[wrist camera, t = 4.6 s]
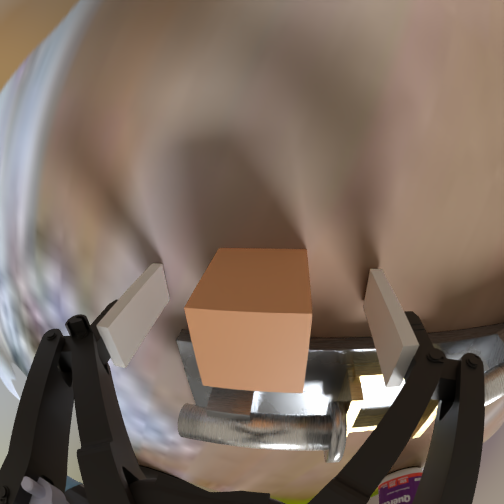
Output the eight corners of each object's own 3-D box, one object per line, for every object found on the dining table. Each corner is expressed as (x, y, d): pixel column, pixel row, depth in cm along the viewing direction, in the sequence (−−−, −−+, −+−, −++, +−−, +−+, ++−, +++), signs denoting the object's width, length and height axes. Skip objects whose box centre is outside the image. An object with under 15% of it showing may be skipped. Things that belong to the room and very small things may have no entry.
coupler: (226, 316, 18) (203, 385, 13) (219, 247, 16) (184, 307, 11) (302, 319, 17) (302, 393, 12) (306, 248, 15) (312, 313, 10)
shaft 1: (342, 379, 18) (348, 445, 13) (332, 412, 20) (334, 470, 15) (190, 370, 19) (166, 430, 14) (201, 404, 21) (183, 457, 16)
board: (204, 411, 24) (193, 445, 20) (181, 329, 19) (160, 370, 15) (486, 393, 19) (497, 419, 15) (531, 317, 15) (551, 343, 11)
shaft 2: (430, 393, 18) (446, 444, 13) (434, 360, 16) (457, 418, 11) (523, 345, 15) (547, 385, 10) (534, 308, 13) (565, 348, 8)
